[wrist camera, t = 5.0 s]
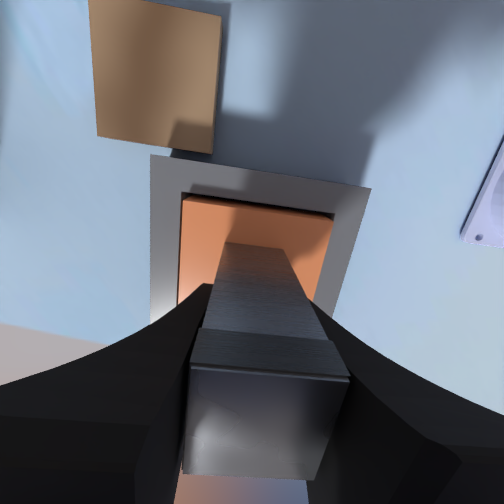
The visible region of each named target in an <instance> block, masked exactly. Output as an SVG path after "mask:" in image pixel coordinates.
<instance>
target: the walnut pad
mask: <svg viewBox="0 0 504 504" xmlns="http://www.w3.org/2000/svg"><path fill="white" fill-rule="evenodd" d="M88 6H89V20H90V35H91V50H92V64H93V79H94V93H95V108H96V123H97V136H100V137H105V138H110V139H117V140H123V141H129V142H136V143H142V144H148V145H155V146H161V147H167V148H174V149H180V150H186V151H193V152H199V153H205V154H212V155H213V143H214V131H215V118H216V106H217V94H218V82H219V70H220V58H221V46H222V34H223V25H222V19H221V16H217V15H212V14H207V13H202V12H197V11H193V10H188V9H183V8H178V7H173V6H168V5H163V4H158V3H153V2H149V1H144V0H88Z"/></svg>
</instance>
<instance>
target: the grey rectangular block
mask: <svg viewBox="0 0 504 504" xmlns="http://www.w3.org/2000/svg"><path fill="white" fill-rule="evenodd" d="M350 377H351V375H350V373H349V372H348V370H347V368H346V366H345V364H344V362H343V360H342V358H341V356H340V354H339V352H338V350H337V349H336V347H335V345H334V343H333V341H330V340H328V338H327V336H326V334H325V332H324V330H323V328H322V326H321V324H320V322H319V320H318V318H317V316H316V314H315V312H314V310H313V308H312V306H311V304H310V302H309V300H308V298H307V296H306V294H305V292H304V290H303V288H302V286H301V284H300V282H299V280H298V278H297V276H296V274H295V272H294V270H293V268H292V266H291V264H290V262H289V260H288V258H287V256H286V254H285V252H284V250H283V249H278V248H270V247H263V246H255V245H247V244H239V243H232V242H225V243H224V247H223V250H222V254H221V258H220V262H219V265H218V269H217V273H216V277H215V280H214V284H213V288H212V292H211V295H210V299H209V303H208V307H207V310H206V314H205V318H204V322H203V325H202V328H199V330H198V334H197V337H196V341H195V344H194V348H193V351H192V355H191V358H190V362H189V375H188V388H187V402H186V415H185V429H184V442H183V456H182V470H183V474H197V475H216V476H235V477H255V478H275V479H294V480H314V479H315V476H316V473H317V471H318V468H319V465H320V462H321V460H322V457H323V454H324V452H325V449H326V446H327V443H328V441H329V438H330V435H331V433H332V430H333V427H334V424H335V422H336V419H337V416H338V414H339V411H340V408H341V405H342V403H343V400H344V397H345V395H346V392H347V389H348V386H349V384H350V381H349V380H350Z"/></svg>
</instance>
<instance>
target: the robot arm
mask: <svg viewBox="0 0 504 504" xmlns="http://www.w3.org/2000/svg"><path fill="white" fill-rule="evenodd" d="M477 235H478V236H477ZM476 236H477V237H476ZM475 237H476V238H475ZM460 238H461V240H462V241H464V242H466V243H471V244H478V245H485V246H492V247H499V248H504V142H503V144H502V146H501V148H500V150H499V152H498V155H497V157H496V159H495V161H494V163H493V165H492V168H491V170H490V172H489V174H488V176H487V178H486V181H485V183H484V185H483V187H482V189H481V191H480V194H479V196H478V198H477V200H476V202H475V204H474V207H473V209H472V211H471V213H470V215H469V217H468V220H467V222H466V224H465V226H464V228H463V230H462V233H461V235H460ZM212 288H213V284H208V283H202V284H201V285H200V286H199V287H198V288H197V289H195V290H194V291H193V292H192V293H191V294H190V295H189V296H188V297H187V298H185V299H184V300H183V301H182V302H181V303H179V304H178V305H177V306H176V307H174V308H173V309H172V310H170V311H169V312H168V313H166V314H165V315H164V316H162V317H161V318H159V319H158V320H156V321H155V322H153V323H152V324H150V325H148V326H147V327H145V328H143V329H141V330H140V331H138V332H136V333H134V334H132V335H130V336H128V337H126V338H124V339H122V340H120V341H118V342H116V343H114V344H112V345H110V346H108V347H106V348H103V349H101V350H99V351H96V352H94V353H92V354H89V355H87V356H84V357H82V358H79V359H77V360H74V361H71V362H69V363H66V364H64V365H61V366H58V367H56V368H53V369H50V370H47V371H44V372H40V373H37V374H34V375H31V376H29V377H25V378H22V379H19V380H16V381H13V382H10V383H7V384H4V385H1V386H0V504H174V498H175V493H176V488H177V482H178V476H179V472H180V467H181V462H182V456H183V442H184V429H185V415H186V402H187V388H188V375H189V362H190V358H191V355H192V351H193V348H194V344H195V341H196V337H197V334H198V330H199V328H202V325H203V322H204V318H205V314H206V310H207V307H208V303H209V299H210V295H211V292H212ZM308 300H309V302H310V304H311V306H312V308H313V310H314V312H315V314H316V316H317V318H318V320H319V322H320V324H321V326H322V328H323V330H324V332H325V334H326V336H327V338H328V340H330V341H333V343H334V345H335V347H336V349H337V350H338V352H339V354H340V356H341V358H342V360H343V362H344V364H345V366H346V368H347V370H348V372H349V373H350V375H351V377H350V380H349V381H350V384H349V386H348V389H347V392H346V395H345V397H344V400H343V403H342V405H341V408H340V411H339V414H338V416H337V419H336V422H335V424H334V427H333V430H332V433H331V435H330V438H329V441H328V443H327V446H326V449H325V452H324V454H323V457H322V460H321V462H320V465H319V468H318V471H317V473H316V476H315V479H314V480H306V483H307V491H308V499H309V504H504V415H502V414H499V413H497V412H494V411H492V410H490V409H487V408H485V407H483V406H480V405H478V404H476V403H473V402H471V401H469V400H467V399H465V398H462V397H460V396H458V395H456V394H454V393H452V392H450V391H448V390H446V389H444V388H442V387H440V386H438V385H436V384H434V383H432V382H430V381H428V380H426V379H424V378H422V377H420V376H418V375H416V374H415V373H413V372H411V371H409V370H407V369H406V368H404V367H402V366H400V365H398V364H397V363H395V362H393V361H392V360H390V359H388V358H387V357H385V356H383V355H382V354H380V353H379V352H377V351H376V350H374V349H373V348H371V347H370V346H368V345H366V344H365V343H364V342H362V341H361V340H359V339H358V338H357V337H355V336H354V335H353V334H351V333H350V332H349V331H347V330H346V329H345V328H343V327H342V326H341V325H339V324H338V323H337V322H336V321H334V320H333V319H332V318H331V317H330V316H328V315H327V314H326V313H325V312H324V311H323V310H321V309H320V308H319V307H318V306H317V305H316V304H314V303H313V302H312V301H311V300H310V299H308Z"/></svg>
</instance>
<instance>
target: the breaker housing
mask: <svg viewBox="0 0 504 504" xmlns="http://www.w3.org/2000/svg"><path fill="white" fill-rule="evenodd" d="M370 192H371V188H365V187H359V186H353V185H347V184H341V183H334V182H328V181H321V180H315V179H308V178H302V177H296V176H289V175H283V174H276V173H270V172H263V171H257V170H250V169H244V168H237V167H231V166H224V165H218V164H212V163H205V162H199V161H192V160H186V159H179V158H173V157H166V156H159V155H152V154H150V324H152V323H153V322H155V321H156V320H158V319H159V318H161V317H162V316H164V315H165V314H166V313H168V312H169V311H170V310H172V309H173V308H174V307H176V306H177V305H178V297H179V275H180V253H181V232H182V210H183V200H185V199H186V198H188V197H190V196H192V195H193V193H196V194H203V195H210V196H217V197H224V198H231V199H238V200H245V201H252V202H259V203H266V204H273V205H279V206H286V207H293V208H300V209H307V210H314V211H317V213H320V214H322V215H324V216H325V217H327V218H329V219H330V220H332V221H334V223H333V227H332V231H331V235H330V238H329V242H328V246H327V250H326V253H325V257H324V261H323V265H322V268H321V272H320V276H319V279H318V283H317V287H316V291H315V294H314V298H313V303H314V304H316V305H317V306H318V307H319V308H320V309H321V310H323V311H324V312H325V313H326V314H327V315H328V316H330V317H331V318H332V316H333V312H334V309H335V306H336V303H337V299H338V296H339V293H340V290H341V286H342V283H343V280H344V277H345V273H346V270H347V267H348V264H349V260H350V257H351V254H352V251H353V247H354V244H355V241H356V238H357V234H358V231H359V228H360V225H361V221H362V218H363V215H364V212H365V208H366V205H367V202H368V199H369V195H370Z"/></svg>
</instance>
